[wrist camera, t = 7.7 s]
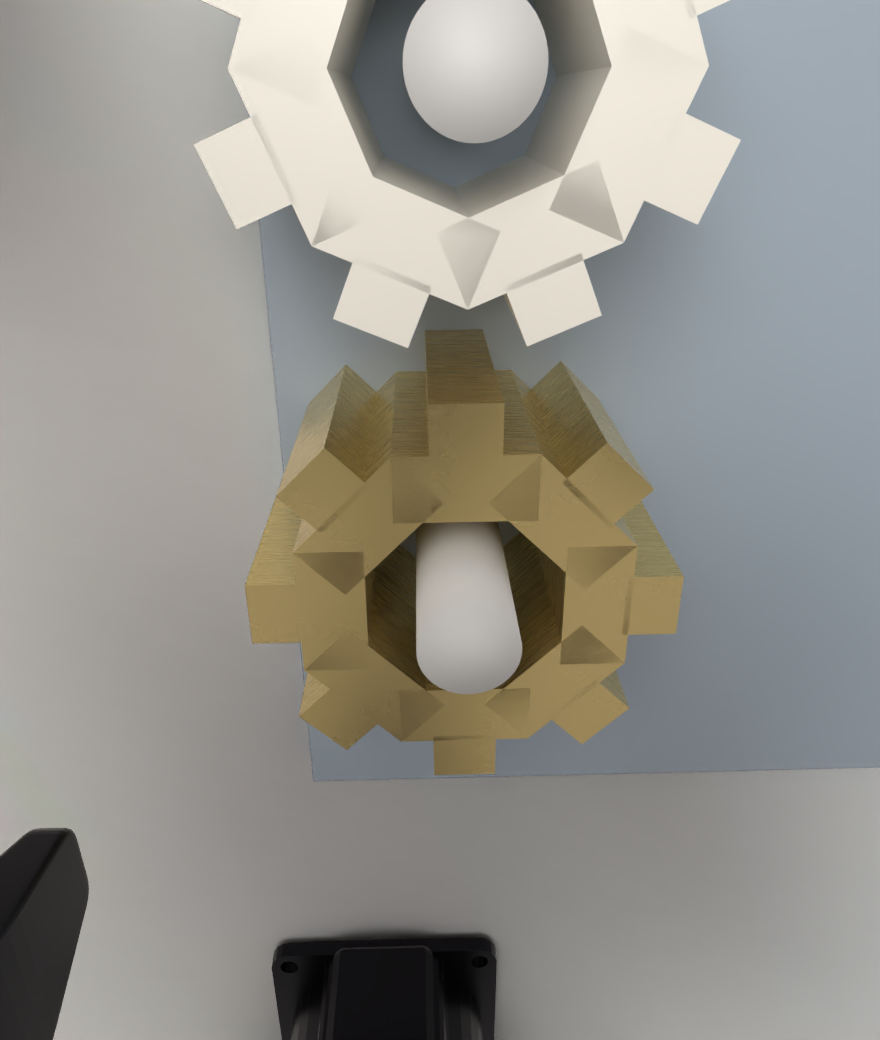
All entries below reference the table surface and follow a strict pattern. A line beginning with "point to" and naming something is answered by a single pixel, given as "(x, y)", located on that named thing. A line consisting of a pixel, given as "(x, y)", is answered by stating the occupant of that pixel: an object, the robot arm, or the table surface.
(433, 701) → the brass gear
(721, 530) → the gear board
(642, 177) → the cream gear
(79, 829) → the table surface
